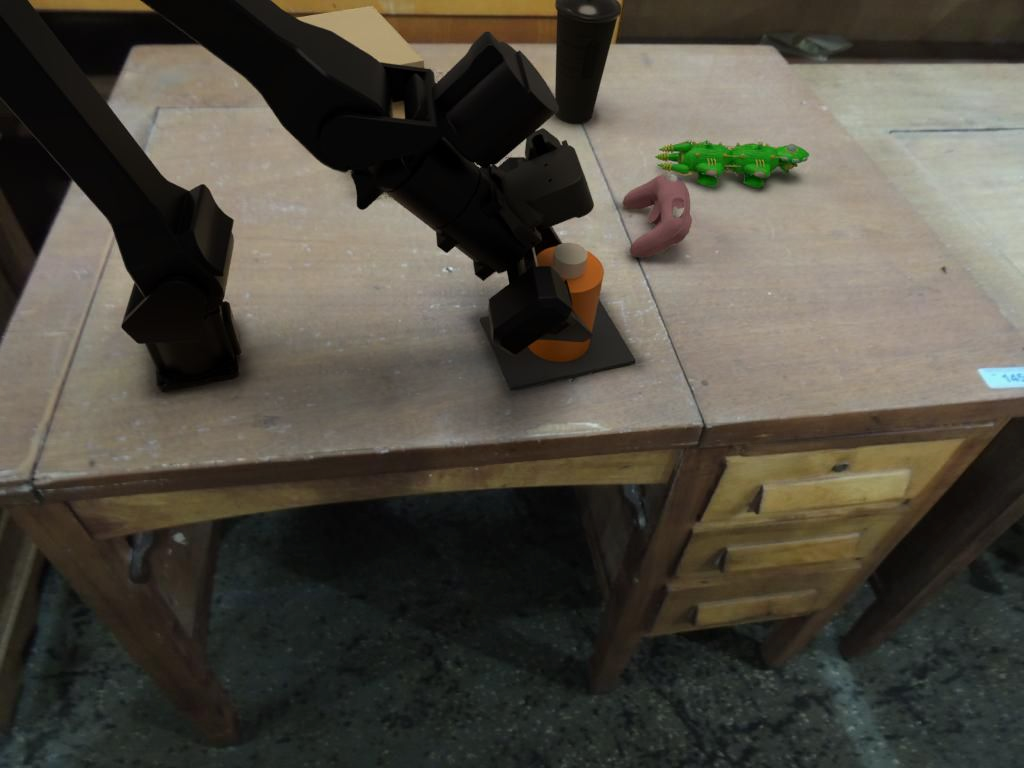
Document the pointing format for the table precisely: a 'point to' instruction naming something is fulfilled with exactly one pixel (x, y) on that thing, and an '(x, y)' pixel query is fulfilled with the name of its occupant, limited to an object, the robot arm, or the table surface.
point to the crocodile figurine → (731, 160)
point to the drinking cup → (582, 54)
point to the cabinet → (368, 34)
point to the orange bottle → (572, 295)
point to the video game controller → (661, 213)
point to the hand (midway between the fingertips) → (578, 300)
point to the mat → (534, 370)
